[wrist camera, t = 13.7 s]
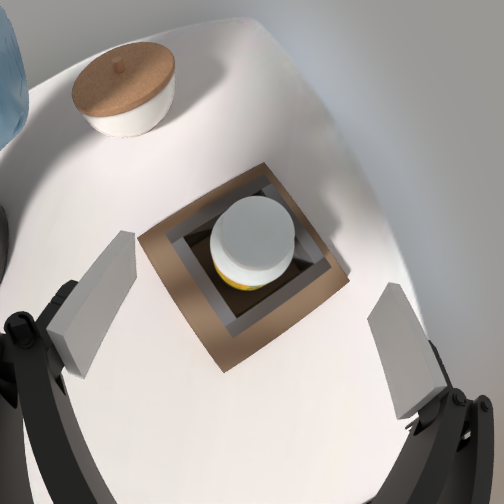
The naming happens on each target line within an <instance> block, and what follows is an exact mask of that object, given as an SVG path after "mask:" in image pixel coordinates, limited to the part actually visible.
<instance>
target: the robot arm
mask: <svg viewBox="0 0 504 504" xmlns="http://www.w3.org/2000/svg"><path fill="white" fill-rule="evenodd" d="M28 111H29V93H28V86H27V80H26V75H25V70H24V66H23V61H22V58H21V53H20V50H19V46H18V43H17V39H16V36H15V33H14V30H13V27H12V24H11V22H10V20H9V19H8V18H7V15H6V12H5V10H4V9H3V8H2V7H1V6H0V151H1V150H2V149H3V148H4V147H5V146H6V145H7V144H8V143H9V142H10V141H11V140H12V139H13V138H14V137H15V136H16V135H17V134H18V133H19V132H20V131H21V130H22V128H23V126H24V125H25V122H26V120H27V117H28ZM7 249H8V226H7V219H6V215H5V212H4V210H3V208H2V206H1V204H0V282H1V279H2V276H3V272H4V268H5V263H6V257H7ZM136 278H137V275H136V257H135V233H131V232H126V231H120V232H119V233H118V235H117V236H116V237H115V238H114V239H113V240H112V241H111V243H110V244H109V245H108V246H107V247H106V249H105V250H104V251H103V252H102V253H101V255H100V256H99V257H98V258H97V260H96V261H95V262H94V263H93V265H92V266H91V267H90V268H89V270H88V271H87V272H86V273H85V275H84V276H83V277H82V279H81V280H80V281H79V282H77V281H74V280H70V281H68V282H67V283H65V284H64V285H62V286H61V288H60V289H59V290H58V291H57V293H56V295H55V296H54V297H53V298H52V299H51V302H50V303H48V305H47V306H46V308H45V309H44V310H43V312H42V313H41V315H40V316H39V317H38V319H37V320H36V322H35V321H34V319H33V317H32V316H31V315H30V314H29V313H28V312H24V311H21V312H16V313H14V314H12V315H11V316H10V317H9V318H8V319H7V320H6V322H5V324H4V331H5V333H6V334H2V333H0V504H34V502H33V498H32V493H31V488H30V483H29V477H28V471H27V464H26V456H25V446H24V432H23V418H24V422H25V426H26V430H27V434H28V437H29V441H30V444H31V447H32V451H33V454H34V457H35V460H36V462H37V465H38V468H39V471H40V473H41V476H42V478H43V481H44V483H45V486H46V488H47V490H48V493H49V495H50V497H51V499H52V501H53V503H54V504H117V503H116V501H115V499H114V498H113V496H112V494H111V493H110V491H109V489H108V487H107V485H106V484H105V482H104V480H103V478H102V476H101V474H100V472H99V470H98V468H97V466H96V464H95V462H94V460H93V458H92V456H91V453H90V451H89V449H88V447H87V444H86V442H85V440H84V437H83V435H82V432H81V430H80V427H79V425H78V422H77V419H76V417H75V414H74V411H73V408H72V405H71V402H70V399H69V396H68V393H67V389H66V386H65V382H64V379H63V376H62V374H61V371H62V369H63V367H64V366H65V368H66V370H67V371H68V373H69V374H72V375H74V376H76V377H79V378H81V379H85V377H86V374H87V372H88V370H89V368H90V366H91V364H92V361H93V359H94V357H95V355H96V353H97V351H98V349H99V347H100V345H101V343H102V341H103V339H104V337H105V335H106V333H107V331H108V329H109V327H110V325H111V323H112V321H113V320H114V318H115V316H116V314H117V312H118V310H119V308H120V306H121V305H122V303H123V301H124V299H125V297H126V296H127V294H128V292H129V290H130V289H131V287H132V285H133V283H134V282H135V280H136ZM367 320H368V323H369V326H370V329H371V331H372V334H373V337H374V340H375V344H376V347H377V350H378V353H379V356H380V359H381V363H382V366H383V369H384V373H385V376H386V379H387V383H388V387H389V390H390V394H391V398H392V401H393V405H394V409H395V413H396V417H397V420H399V419H407V418H410V417H411V416H413V415H414V414H415V413H417V412H418V415H419V417H418V418H416V419H415V420H414V421H412V422H411V423H410V424H408V425H407V426H406V428H405V429H408V428H409V427H411V426H412V428H411V429H410V430H409V431H410V433H409V435H408V437H407V439H406V442H405V444H404V446H403V448H402V450H401V452H400V454H399V456H398V458H397V460H396V462H395V464H394V466H393V467H392V469H391V471H390V473H389V475H388V477H387V478H386V480H385V482H384V483H383V485H382V487H381V488H380V490H379V492H378V493H377V495H376V497H375V498H374V500H373V501H372V503H371V504H489V501H490V494H491V486H492V477H493V463H494V418H493V407H492V403H491V401H490V399H489V398H488V397H486V396H485V395H481V396H479V397H478V398H477V399H475V400H474V401H473V400H468V399H466V396H465V394H464V393H463V392H462V391H461V390H460V389H457V388H453V387H452V384H451V382H450V379H449V377H448V374H447V372H446V370H445V367H444V365H443V364H442V360H441V358H439V354H438V351H437V349H436V347H435V346H434V345H433V344H432V343H431V341H430V340H428V339H427V337H426V335H425V333H424V331H423V329H422V327H421V325H420V322H419V320H418V318H417V316H416V314H415V312H414V311H413V309H412V307H411V305H410V303H409V301H408V299H407V297H406V295H405V293H404V292H403V290H402V288H401V286H400V284H395V283H390V282H389V283H388V284H387V286H386V288H385V290H384V292H383V293H382V295H381V297H380V298H379V300H378V302H377V304H376V305H375V307H374V309H373V310H372V312H371V313H370V315H369V317H368V318H367ZM470 431H471V433H470V437H468V438H467V439H465V438H464V435H465V434H467V433H468V432H470Z"/></svg>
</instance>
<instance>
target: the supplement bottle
mask: <svg viewBox="0 0 504 504" xmlns="http://www.w3.org/2000/svg"><path fill="white" fill-rule="evenodd" d="M294 237H295V230H294V224H293V221H292V218H291V217H290V215H289V213H288V212H287V210H286V209H285V208H284V207H283V206H282V205H281V204H279V203H278V202H276V201H275V200H272V199H270V198H267V197H263V196H250V197H246V198H243V199H241V200H239V201H237V202H235V203H234V204H233V205H232V206H231V207H230V208H229V209H228V210H227V211H225V212H224V213H223V214H222V215H221V216H220V218H219V219H218V220H217V222H216V223H215V225H214V227H213V230H212V234H211V239H210V248H211V254H212V258H213V262H214V267H215V270H216V273H217V275H218V277H219V278H220V280H221V281H222V282H223V283H224V284H225V285H227V286H228V287H230V288H232V289H234V290H238V291H254V290H257V289H259V288H261V287H263V286H265V285H266V284H268V283H270V282H272V281H273V280H275V279H277V278H278V277H279V276H281V275H282V274H283V272H284V271H285V270H286V269H287V267H288V266H289V264H290V262H291V260H292V257H293V253H294Z"/></svg>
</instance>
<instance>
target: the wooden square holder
mask: <svg viewBox="0 0 504 504" xmlns="http://www.w3.org/2000/svg"><path fill="white" fill-rule="evenodd" d="M250 196H263V197H267V198H270V199H272V200H275V201H276V202H278V203H279V204H281V205H282V206H283V207H284V208H285V209H286V210H287V212H288V213H289V215H290V217H291V218H292V221H293V224H294V230H295V237H294V253H293V257H292V260H291V262H290V264H289V266H288V267H287V269H286V270H285V271H284V272H283V274H282V275H281V276H279V277H278V278H277V279H275V280H273V281H272V282H270V283H268V284H266V285H265V286H263V287H261V288H259V289H257V290H254V291H238V290H234V289H232V288H230V287H228V286H227V285H225V284H224V283H223V282H222V281H221V280H220V278H219V277H218V275H217V273H216V270H215V267H214V262H213V258H212V254H211V248H210V239H211V234H212V230H213V227H214V225H215V223H216V222H217V220H218V219H219V218H220V216H221V215H222V214H223V213H224V212H225V211H227V210H228V209H229V208H230V207H231V206H232V205H233V204H234V203H235V202H237V201H239V200H241V199H243V198H246V197H250ZM137 239H138V241H139V243H140V245H141V246H142V248H143V250H144V252H145V253H146V255H147V257H148V259H149V260H150V262H151V264H152V266H153V267H154V269H155V271H156V272H157V274H158V276H159V277H160V279H161V281H162V282H163V284H164V286H165V287H166V289H167V291H168V292H169V294H170V295H171V297H172V299H173V300H174V302H175V303H176V305H177V306H178V308H179V310H180V311H181V313H182V314H183V316H184V317H185V319H186V320H187V322H188V323H189V325H190V326H191V328H192V329H193V331H194V332H195V334H196V335H197V337H198V338H199V340H200V341H201V342H202V344H203V345H204V347H205V348H206V350H207V351H208V352H209V354H210V355H211V357H212V358H213V359H214V361H215V362H216V363H217V365H218V366H219V368H220V369H221V370H222V372H223V373H225V372H226V371H228V370H230V369H231V368H233V367H234V366H236V365H237V364H239V363H240V362H242V361H243V360H245V359H246V358H248V357H249V356H251V355H252V354H254V353H255V352H257V351H258V350H260V349H261V348H262V347H264V346H265V345H267V344H268V343H270V342H271V341H272V340H274V339H275V338H277V337H278V336H280V335H281V334H282V333H284V332H285V331H286V330H288V329H289V328H291V327H292V326H293V325H295V324H296V323H297V322H299V321H300V320H301V319H303V318H304V317H305V316H307V315H308V314H309V313H311V312H312V311H313V310H314V309H316V308H317V307H318V306H320V305H321V304H322V303H323V302H325V301H326V300H327V299H329V298H330V297H331V296H332V295H334V294H335V293H336V292H337V291H338V290H340V289H341V288H342V287H343V286H345V285H346V284H347V283H348V282H349V281H350V280H349V279H348V277H347V276H346V274H345V273H344V271H343V270H342V268H341V267H340V265H339V264H338V262H337V261H336V259H335V258H334V256H333V255H332V253H331V252H330V251H329V249H328V248H327V246H326V245H325V243H324V242H323V240H322V239H321V238H320V236H319V235H318V233H317V232H316V231H315V229H314V228H313V226H312V225H311V224H310V222H309V221H308V219H307V218H306V217H305V215H304V214H303V212H302V211H301V210H300V208H299V207H298V206H297V204H296V203H295V202H294V200H293V199H292V198H291V196H290V195H289V194H288V192H287V191H286V190H285V188H284V187H283V186H282V184H281V183H280V182H279V181H278V179H277V178H276V177H275V175H274V174H273V173H272V171H271V170H270V169H269V168H268V166H267V165H266V164H265V163H262V164H260V165H258V166H256V167H254V168H252V169H251V170H249V171H247V172H245V173H243V174H241V175H240V176H238V177H236V178H234V179H232V180H231V181H229V182H227V183H225V184H224V185H222V186H220V187H218V188H217V189H215V190H213V191H211V192H210V193H208V194H206V195H205V196H203V197H201V198H199V199H198V200H196V201H194V202H193V203H191V204H189V205H188V206H186V207H185V208H183V209H181V210H180V211H178V212H176V213H175V214H173V215H172V216H170V217H168V218H167V219H165V220H164V221H162V222H161V223H159V224H157V225H156V226H154V227H153V228H151V229H150V230H148V231H147V232H145V233H144V234H142V235H141V236H139V237H138V238H137Z"/></svg>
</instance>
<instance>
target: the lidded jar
mask: <svg viewBox="0 0 504 504" xmlns="http://www.w3.org/2000/svg"><path fill="white" fill-rule="evenodd" d="M174 70H175V62H174V57H173V54H172V53H171V51H170V50H169V49H167V48H166V47H164V46H162V45H160V44H157V43H151V42H138V43H131V44H127V45H123V46H120V47H117V48H114V49H112V50H110V51H108V52H106V53H104V54H102V55H101V56H99V57H98V58H96V59H95V60H94V61H92V62H91V63H90V64H89V65H88V66H87V67H86V68H85V69H84V70H83V71H82V72H81V73H80V75H79V76H78V78H77V79H76V81H75V83H74V86H73V90H72V99H73V102H74V104H75V106H76V107H77V109H78V110H79V111H80V112H81V113H82V115H83V116H84V118H85V119H86V120H87V121H88V123H89V124H90V125H91V126H92V127H93V128H94V129H96V130H97V131H99V132H100V133H102V134H104V135H107V136H109V137H114V138H129V137H136V136H140V135H142V134H145V133H146V132H148V131H150V130H151V129H152V128H153V127H154V126H156V125H157V124H158V123H159V122H160V121H161V120H162V119H163V118H164V116H165V115H166V114H167V112H168V110H169V109H170V106H171V104H172V101H173V98H174V92H175V71H174Z"/></svg>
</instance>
